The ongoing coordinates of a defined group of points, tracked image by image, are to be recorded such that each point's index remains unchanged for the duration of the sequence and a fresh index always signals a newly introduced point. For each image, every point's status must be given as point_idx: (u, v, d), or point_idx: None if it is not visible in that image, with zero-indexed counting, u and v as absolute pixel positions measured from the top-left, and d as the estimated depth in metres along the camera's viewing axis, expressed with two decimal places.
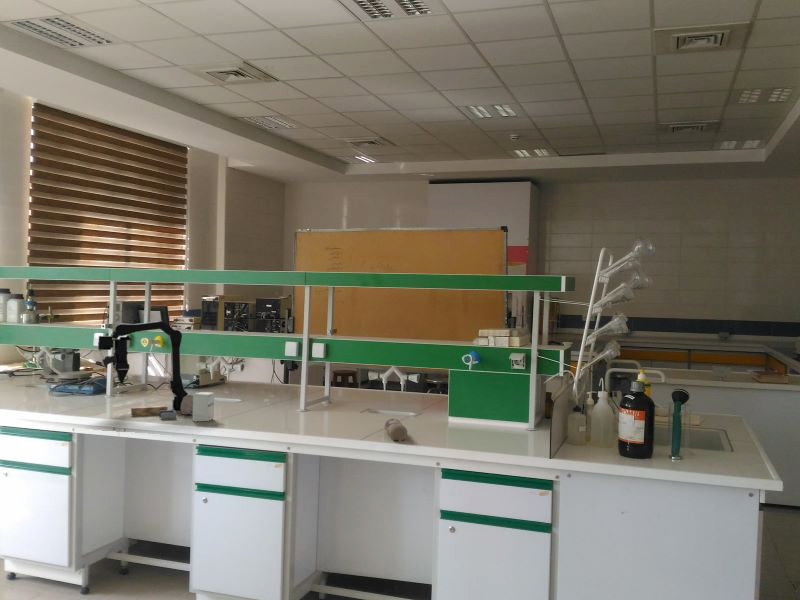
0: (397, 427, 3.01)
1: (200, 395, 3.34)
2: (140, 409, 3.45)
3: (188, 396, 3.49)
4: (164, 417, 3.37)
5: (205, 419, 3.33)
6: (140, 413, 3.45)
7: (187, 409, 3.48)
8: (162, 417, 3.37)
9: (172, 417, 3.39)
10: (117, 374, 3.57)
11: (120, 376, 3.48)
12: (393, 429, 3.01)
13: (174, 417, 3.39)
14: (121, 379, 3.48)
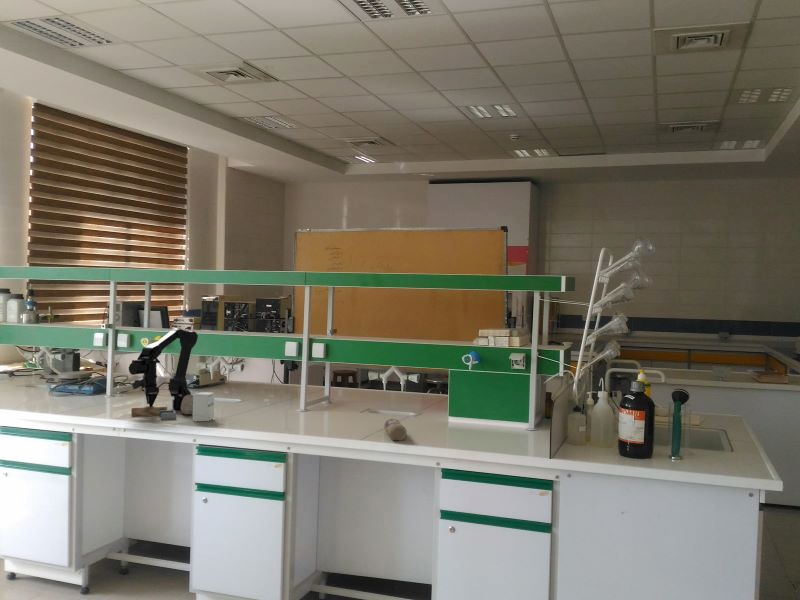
0: (396, 427, 3.01)
1: (200, 395, 3.34)
2: (140, 409, 3.46)
3: (188, 396, 3.49)
4: (164, 417, 3.37)
5: (205, 419, 3.33)
6: (140, 413, 3.46)
7: (187, 409, 3.49)
8: (162, 417, 3.37)
9: (172, 417, 3.39)
10: (146, 397, 3.53)
11: (150, 400, 3.44)
12: (392, 429, 3.01)
13: (174, 417, 3.39)
14: (151, 403, 3.44)
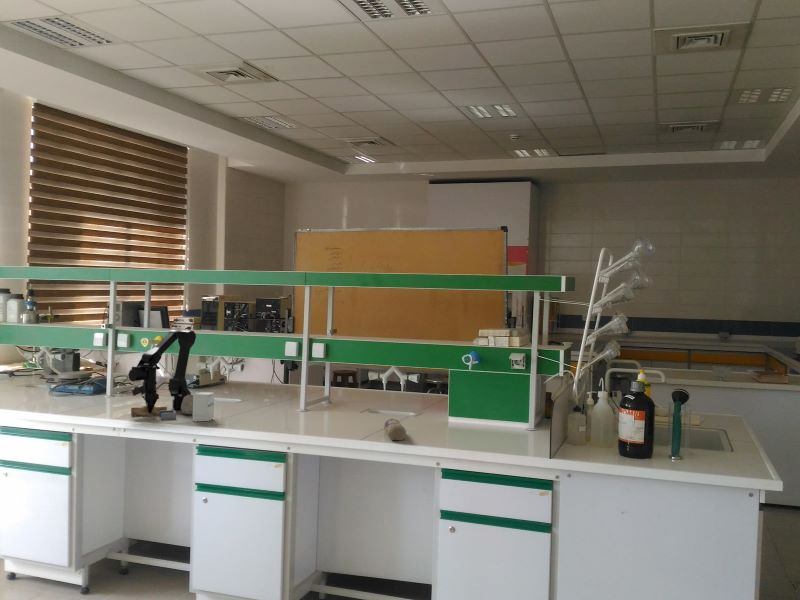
0: (396, 427, 3.01)
1: (200, 395, 3.34)
2: (139, 409, 3.46)
3: (188, 396, 3.49)
4: (164, 417, 3.37)
5: (205, 419, 3.33)
6: (139, 413, 3.46)
7: (187, 409, 3.49)
8: (162, 417, 3.37)
9: (172, 417, 3.39)
10: (146, 404, 3.51)
11: (149, 406, 3.46)
12: (392, 429, 3.01)
13: (174, 417, 3.39)
14: (150, 409, 3.46)
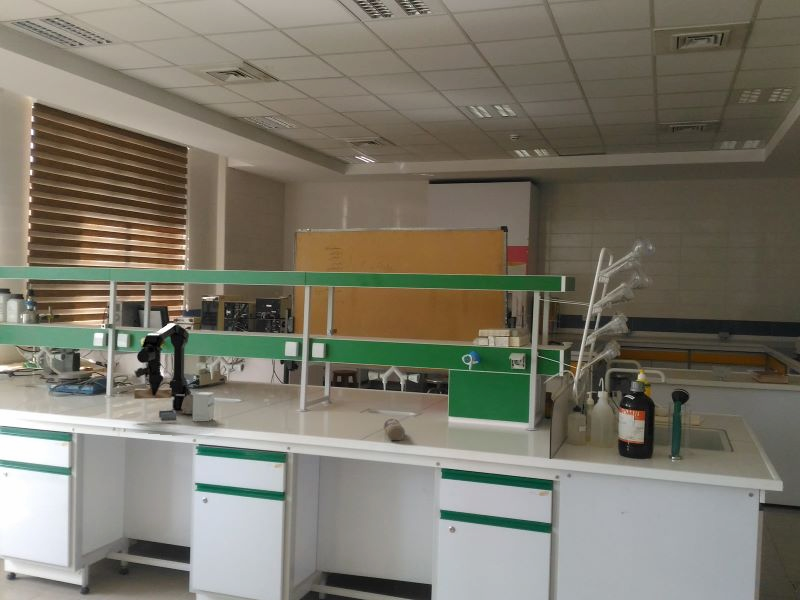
0: (395, 427, 3.01)
1: (200, 395, 3.34)
2: (143, 391, 3.35)
3: (189, 396, 3.49)
4: (164, 417, 3.37)
5: (205, 419, 3.33)
6: (143, 395, 3.35)
7: (188, 409, 3.49)
8: (162, 417, 3.37)
9: (172, 417, 3.39)
10: (150, 387, 3.40)
11: (153, 388, 3.35)
12: (390, 429, 3.01)
13: (174, 417, 3.39)
14: (154, 391, 3.35)
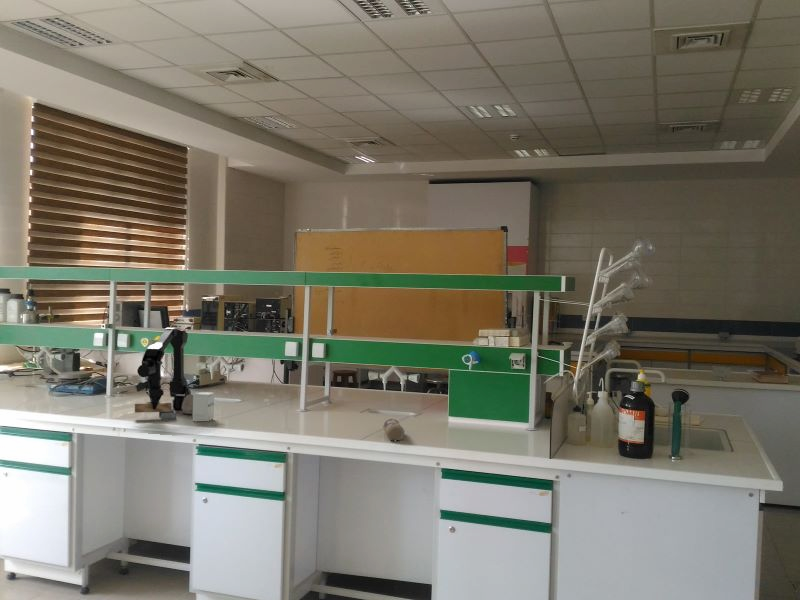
0: (394, 427, 3.01)
1: (200, 395, 3.34)
2: (143, 405, 3.35)
3: (189, 396, 3.50)
4: (164, 417, 3.37)
5: (205, 419, 3.33)
6: (143, 409, 3.35)
7: (188, 409, 3.49)
8: (162, 417, 3.37)
9: (172, 417, 3.39)
10: (150, 400, 3.40)
11: (153, 402, 3.35)
12: (390, 429, 3.01)
13: (174, 417, 3.39)
14: (154, 405, 3.36)
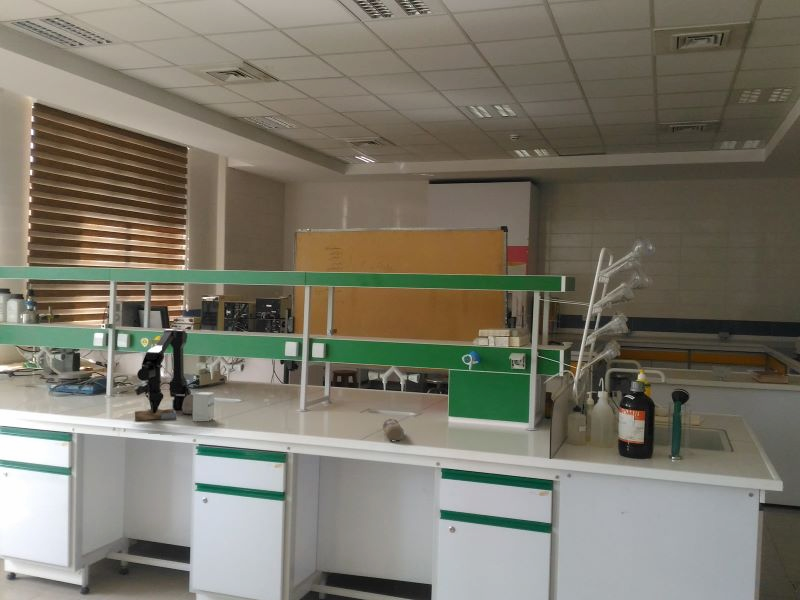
0: (393, 427, 3.01)
1: (200, 395, 3.34)
2: (143, 412, 3.35)
3: (189, 396, 3.50)
4: (164, 417, 3.37)
5: (205, 419, 3.33)
6: (143, 416, 3.35)
7: (188, 409, 3.50)
8: (162, 417, 3.37)
9: (172, 417, 3.39)
10: (150, 404, 3.41)
11: (153, 406, 3.34)
12: (389, 429, 3.01)
13: (174, 417, 3.39)
14: (154, 409, 3.35)
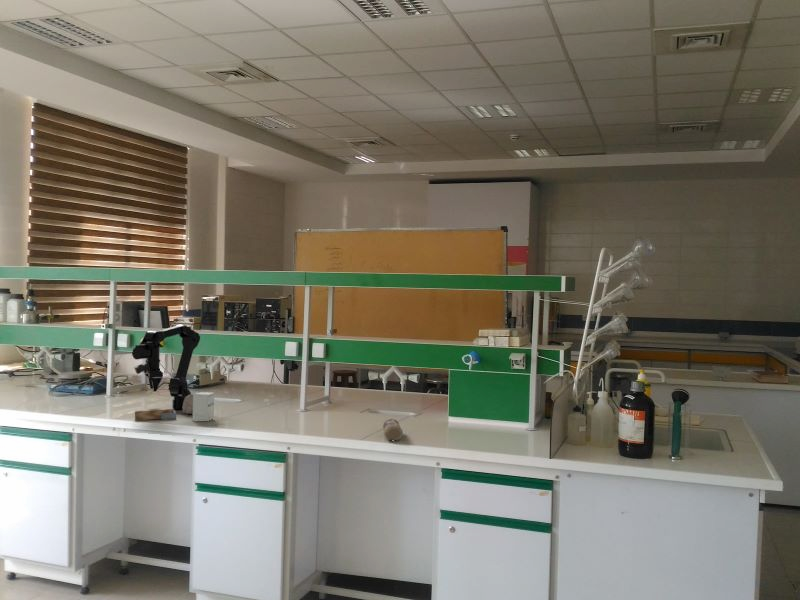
0: (392, 427, 3.01)
1: (200, 395, 3.34)
2: (143, 412, 3.35)
3: (190, 396, 3.50)
4: (164, 417, 3.37)
5: (205, 419, 3.33)
6: (143, 416, 3.35)
7: (189, 408, 3.50)
8: (162, 417, 3.37)
9: (172, 417, 3.39)
10: (149, 382, 3.54)
11: (154, 384, 3.45)
12: (388, 429, 3.01)
13: (174, 417, 3.39)
14: (155, 387, 3.45)
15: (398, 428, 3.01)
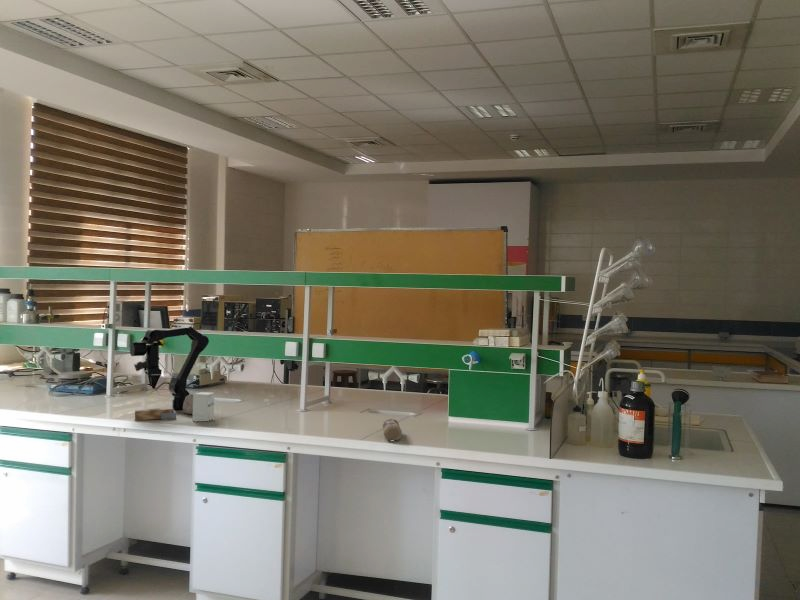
0: (391, 427, 3.01)
1: (200, 395, 3.34)
2: (143, 412, 3.35)
3: (190, 396, 3.50)
4: (164, 417, 3.37)
5: (205, 419, 3.33)
6: (143, 416, 3.35)
7: (189, 408, 3.50)
8: (162, 417, 3.37)
9: (172, 417, 3.39)
10: None
11: (152, 382, 3.51)
12: (387, 429, 3.01)
13: (174, 417, 3.39)
14: (153, 384, 3.51)
15: (397, 428, 3.01)
